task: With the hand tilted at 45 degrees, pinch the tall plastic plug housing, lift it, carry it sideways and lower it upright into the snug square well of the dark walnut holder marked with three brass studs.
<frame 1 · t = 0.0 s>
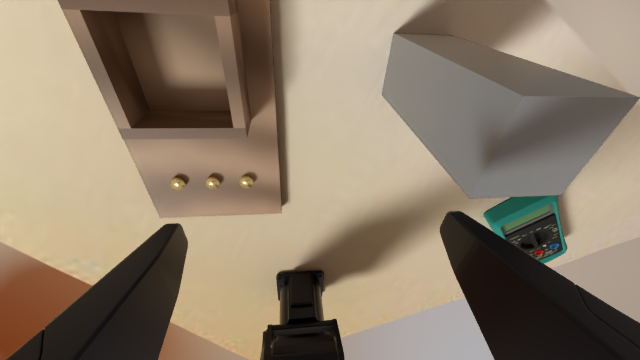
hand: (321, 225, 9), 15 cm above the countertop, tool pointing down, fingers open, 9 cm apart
walnut holder: (204, 125, 21), on the countertop
digital multimeter: (519, 223, 35), on the countertop
plug housing: (414, 66, 20), on the countertop
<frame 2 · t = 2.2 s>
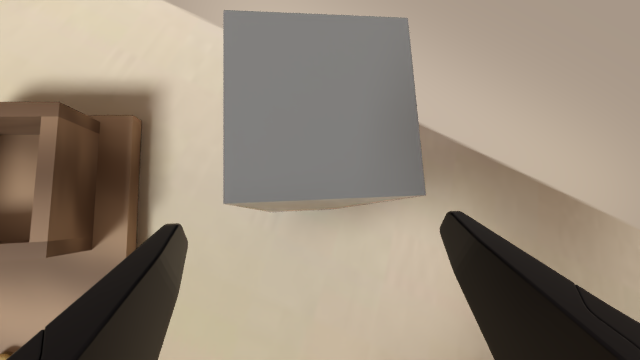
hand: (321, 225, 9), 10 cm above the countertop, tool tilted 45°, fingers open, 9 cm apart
walnut holder: (31, 267, 16), on the countertop
plug housing: (301, 179, 19), on the countertop
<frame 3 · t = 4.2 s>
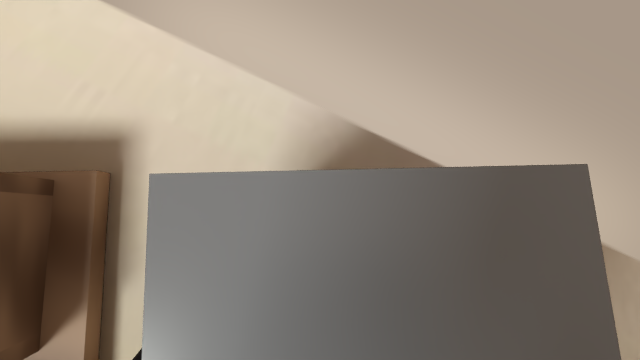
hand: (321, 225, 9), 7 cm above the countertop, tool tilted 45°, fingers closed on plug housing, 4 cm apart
plug housing: (309, 244, 15), on the countertop, touching gripper
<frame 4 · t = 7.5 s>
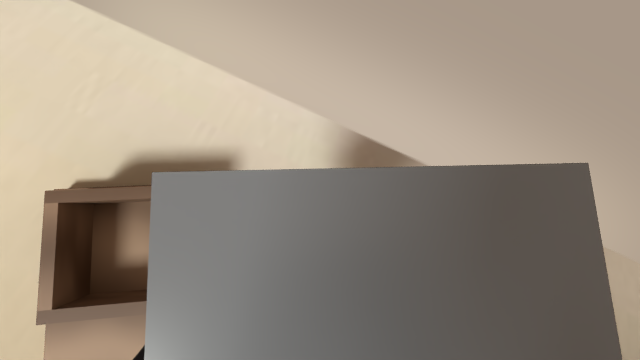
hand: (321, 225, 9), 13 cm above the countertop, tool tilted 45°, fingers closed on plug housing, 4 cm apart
walnut holder: (145, 309, 20), on the countertop
plug housing: (309, 244, 15), point 7 cm above the countertop, touching gripper
when the fingers open (9 cm above the countertop, at t = 11.0 s): plug housing stays where it is, resting on walnut holder.
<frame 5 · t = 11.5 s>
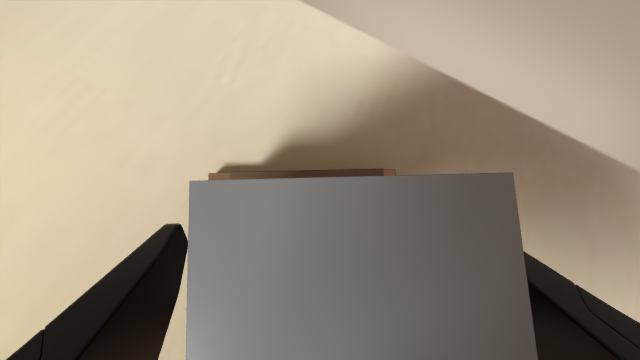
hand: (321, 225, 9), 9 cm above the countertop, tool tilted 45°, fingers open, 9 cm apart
walnut holder: (309, 321, 16), on the countertop
plug housing: (307, 241, 16), point 1 cm above the countertop, touching walnut holder
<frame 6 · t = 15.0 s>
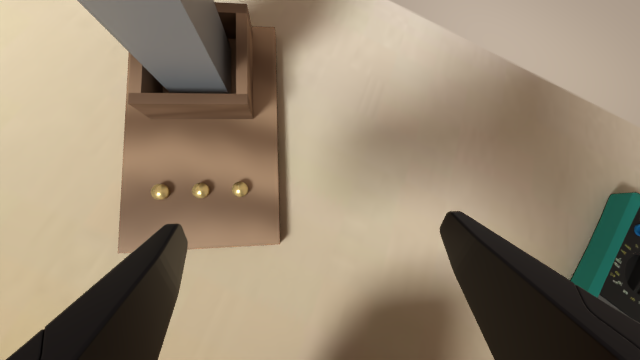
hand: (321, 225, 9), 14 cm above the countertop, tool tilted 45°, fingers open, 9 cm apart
walnut holder: (207, 134, 22), on the countertop
digital multimeter: (604, 272, 25), on the countertop
plug housing: (203, 72, 22), point 1 cm above the countertop, touching walnut holder
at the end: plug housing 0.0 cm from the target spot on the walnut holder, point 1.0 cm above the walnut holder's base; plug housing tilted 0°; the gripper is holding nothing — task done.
